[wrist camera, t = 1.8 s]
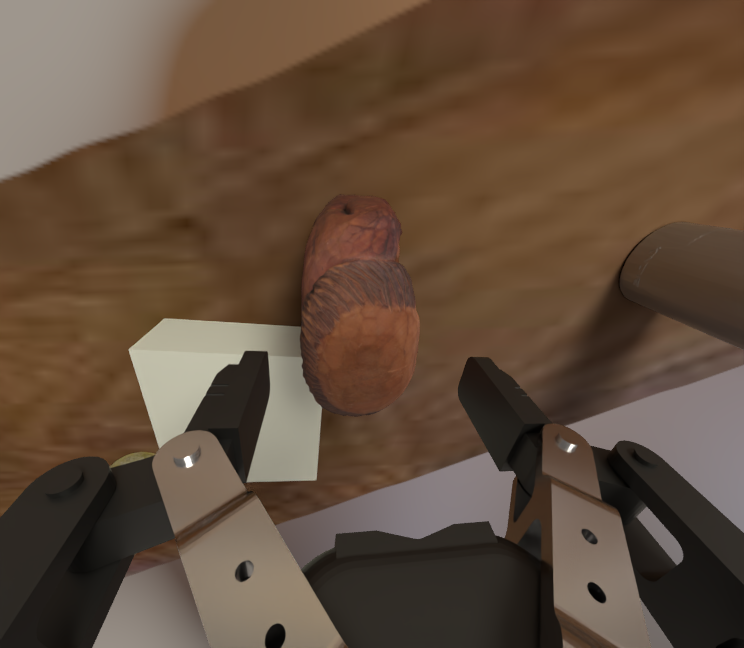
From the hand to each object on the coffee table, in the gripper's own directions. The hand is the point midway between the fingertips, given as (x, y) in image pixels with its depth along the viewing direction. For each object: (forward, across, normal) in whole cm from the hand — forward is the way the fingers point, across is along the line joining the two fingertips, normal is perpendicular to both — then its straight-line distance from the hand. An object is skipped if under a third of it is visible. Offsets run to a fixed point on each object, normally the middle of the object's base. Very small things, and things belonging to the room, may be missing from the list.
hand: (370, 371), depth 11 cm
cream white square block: (+19, +10, +17) cm, 27 cm away
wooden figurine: (+18, 0, 0) cm, 18 cm away
